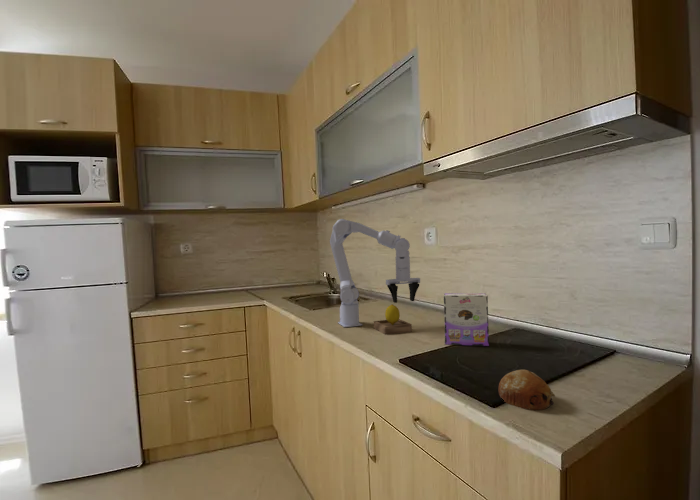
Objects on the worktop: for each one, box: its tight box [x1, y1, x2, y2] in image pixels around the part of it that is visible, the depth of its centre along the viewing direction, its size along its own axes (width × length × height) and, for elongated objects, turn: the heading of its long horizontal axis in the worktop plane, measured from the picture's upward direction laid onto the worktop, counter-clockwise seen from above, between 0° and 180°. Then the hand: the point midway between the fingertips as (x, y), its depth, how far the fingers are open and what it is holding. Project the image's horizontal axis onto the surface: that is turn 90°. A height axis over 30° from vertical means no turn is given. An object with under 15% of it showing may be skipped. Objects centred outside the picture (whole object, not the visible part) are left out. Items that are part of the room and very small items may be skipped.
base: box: [373, 318, 413, 335], centre depth 140 cm, size 11×11×3 cm
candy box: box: [443, 292, 490, 347], centre depth 119 cm, size 14×6×16 cm, turn 74°
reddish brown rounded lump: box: [497, 369, 556, 411], centre depth 76 cm, size 10×10×8 cm
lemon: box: [384, 304, 401, 325], centre depth 140 cm, size 6×6×8 cm
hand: (403, 301), depth 145 cm, fingers open, 7 cm apart
